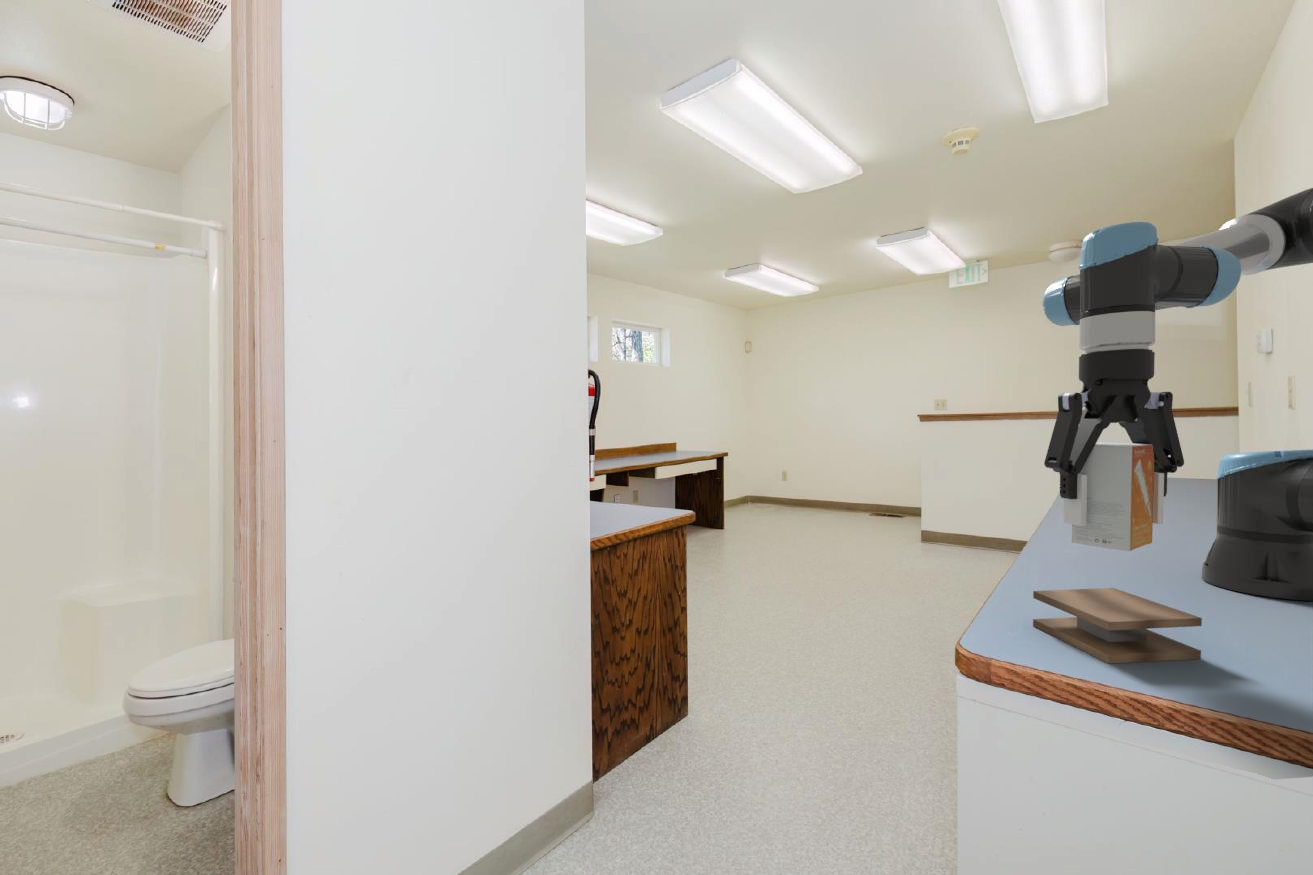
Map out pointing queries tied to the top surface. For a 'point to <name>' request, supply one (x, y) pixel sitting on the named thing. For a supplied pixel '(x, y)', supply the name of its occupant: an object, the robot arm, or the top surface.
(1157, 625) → the stand
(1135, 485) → the small box
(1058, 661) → the top surface
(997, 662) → the top surface
